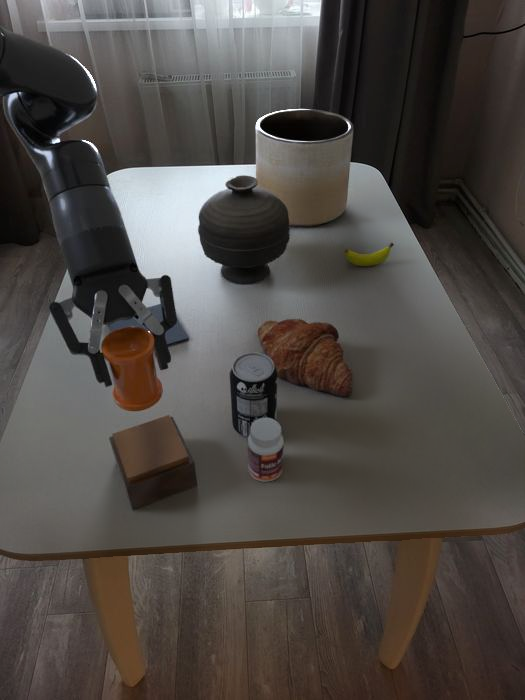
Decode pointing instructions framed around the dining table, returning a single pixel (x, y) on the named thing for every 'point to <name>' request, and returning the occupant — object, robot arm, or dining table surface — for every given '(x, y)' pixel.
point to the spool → (132, 368)
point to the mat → (171, 335)
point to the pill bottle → (265, 450)
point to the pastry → (307, 354)
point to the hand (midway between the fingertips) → (137, 376)
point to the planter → (305, 162)
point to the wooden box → (153, 461)
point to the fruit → (368, 257)
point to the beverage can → (252, 390)
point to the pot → (244, 230)
